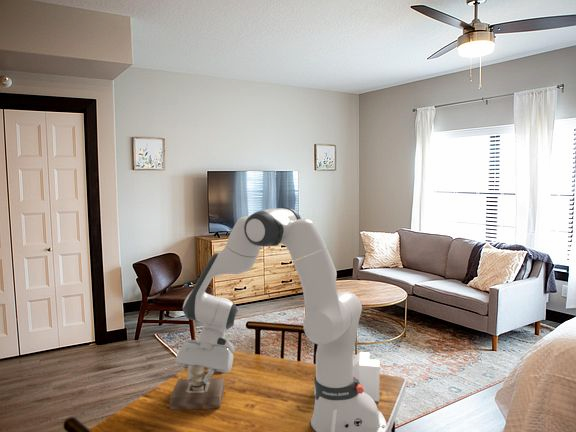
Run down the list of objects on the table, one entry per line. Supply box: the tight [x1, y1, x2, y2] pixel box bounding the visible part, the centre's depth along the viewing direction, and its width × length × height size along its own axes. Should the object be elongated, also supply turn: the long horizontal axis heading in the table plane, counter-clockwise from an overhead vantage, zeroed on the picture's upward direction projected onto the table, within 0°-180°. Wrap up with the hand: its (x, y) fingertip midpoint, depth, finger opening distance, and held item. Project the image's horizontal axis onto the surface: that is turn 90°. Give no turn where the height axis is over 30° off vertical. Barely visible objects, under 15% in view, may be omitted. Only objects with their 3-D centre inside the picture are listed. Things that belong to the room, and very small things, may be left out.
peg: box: [191, 365, 205, 391], centre depth 142 cm, size 4×4×10 cm
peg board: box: [169, 377, 225, 410], centre depth 143 cm, size 16×12×4 cm
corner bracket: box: [353, 351, 381, 402], centre depth 146 cm, size 11×11×12 cm
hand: (196, 381), depth 142 cm, fingers closed on peg, 4 cm apart
